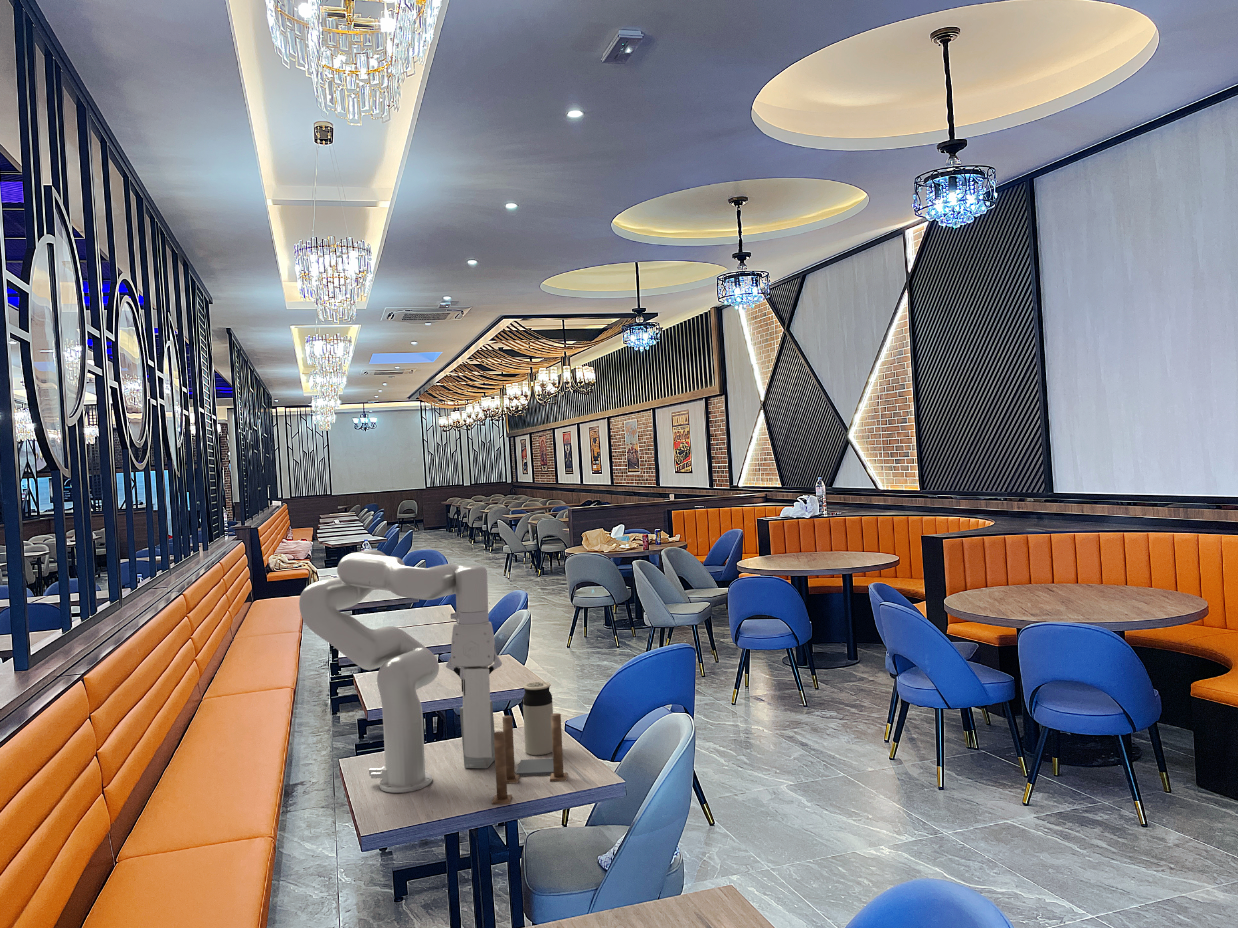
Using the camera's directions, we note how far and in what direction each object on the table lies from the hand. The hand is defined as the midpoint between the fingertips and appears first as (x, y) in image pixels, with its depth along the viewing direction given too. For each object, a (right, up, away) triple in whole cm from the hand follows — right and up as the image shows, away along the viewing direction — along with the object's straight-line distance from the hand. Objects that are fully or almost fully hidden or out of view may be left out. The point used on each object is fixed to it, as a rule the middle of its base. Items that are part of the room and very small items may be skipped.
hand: (474, 693), depth 204 cm
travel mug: (+13, -23, +27) cm, 38 cm away
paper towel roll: (+1, -15, 0) cm, 15 cm away
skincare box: (-2, -24, +20) cm, 31 cm away
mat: (+14, -23, +13) cm, 30 cm away
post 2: (+8, -23, +6) cm, 25 cm away
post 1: (+8, -23, -7) cm, 25 cm away
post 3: (+20, -22, +6) cm, 30 cm away
